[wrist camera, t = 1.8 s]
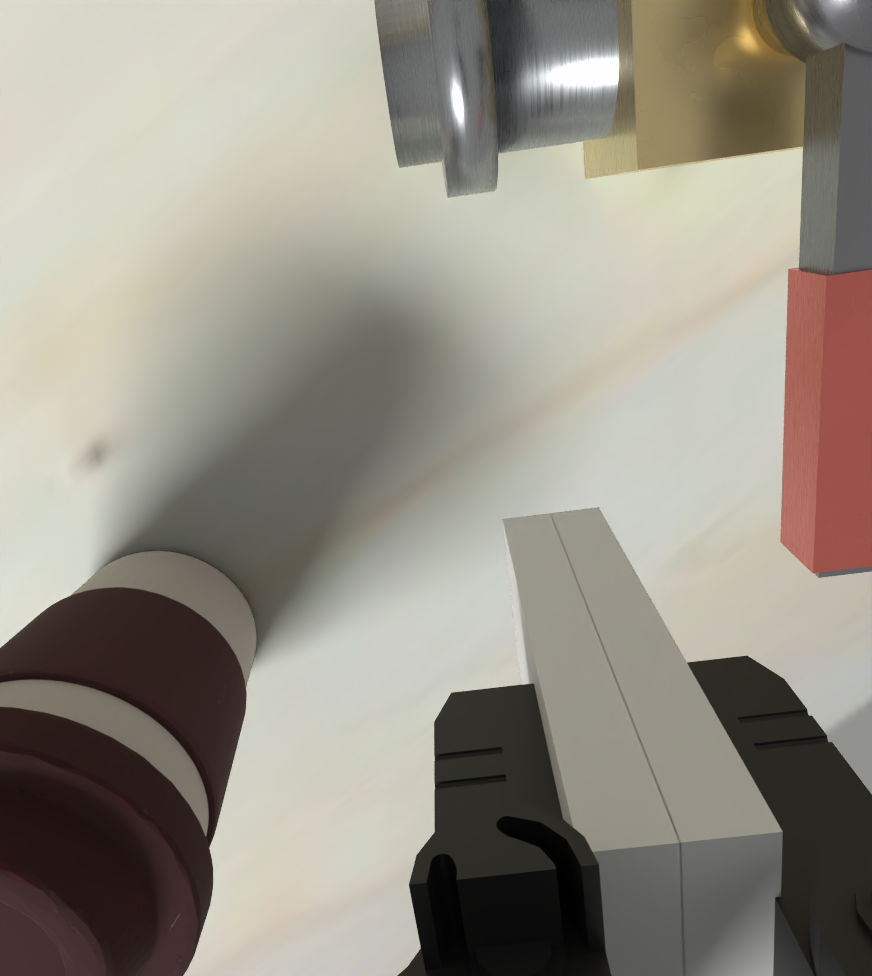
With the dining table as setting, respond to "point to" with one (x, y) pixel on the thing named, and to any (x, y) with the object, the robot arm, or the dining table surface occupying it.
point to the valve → (585, 83)
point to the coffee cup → (118, 767)
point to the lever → (830, 293)
